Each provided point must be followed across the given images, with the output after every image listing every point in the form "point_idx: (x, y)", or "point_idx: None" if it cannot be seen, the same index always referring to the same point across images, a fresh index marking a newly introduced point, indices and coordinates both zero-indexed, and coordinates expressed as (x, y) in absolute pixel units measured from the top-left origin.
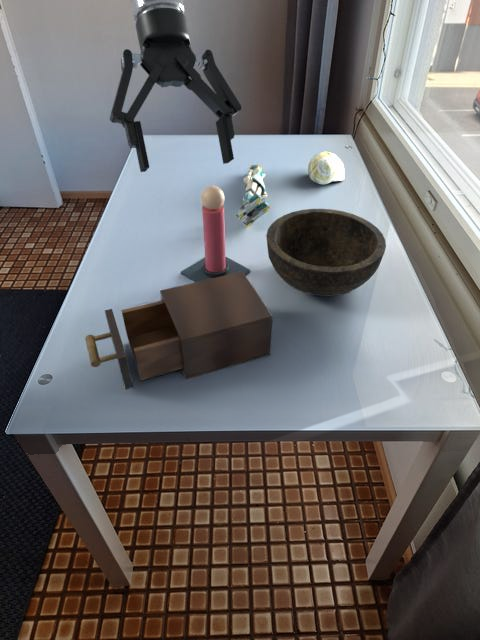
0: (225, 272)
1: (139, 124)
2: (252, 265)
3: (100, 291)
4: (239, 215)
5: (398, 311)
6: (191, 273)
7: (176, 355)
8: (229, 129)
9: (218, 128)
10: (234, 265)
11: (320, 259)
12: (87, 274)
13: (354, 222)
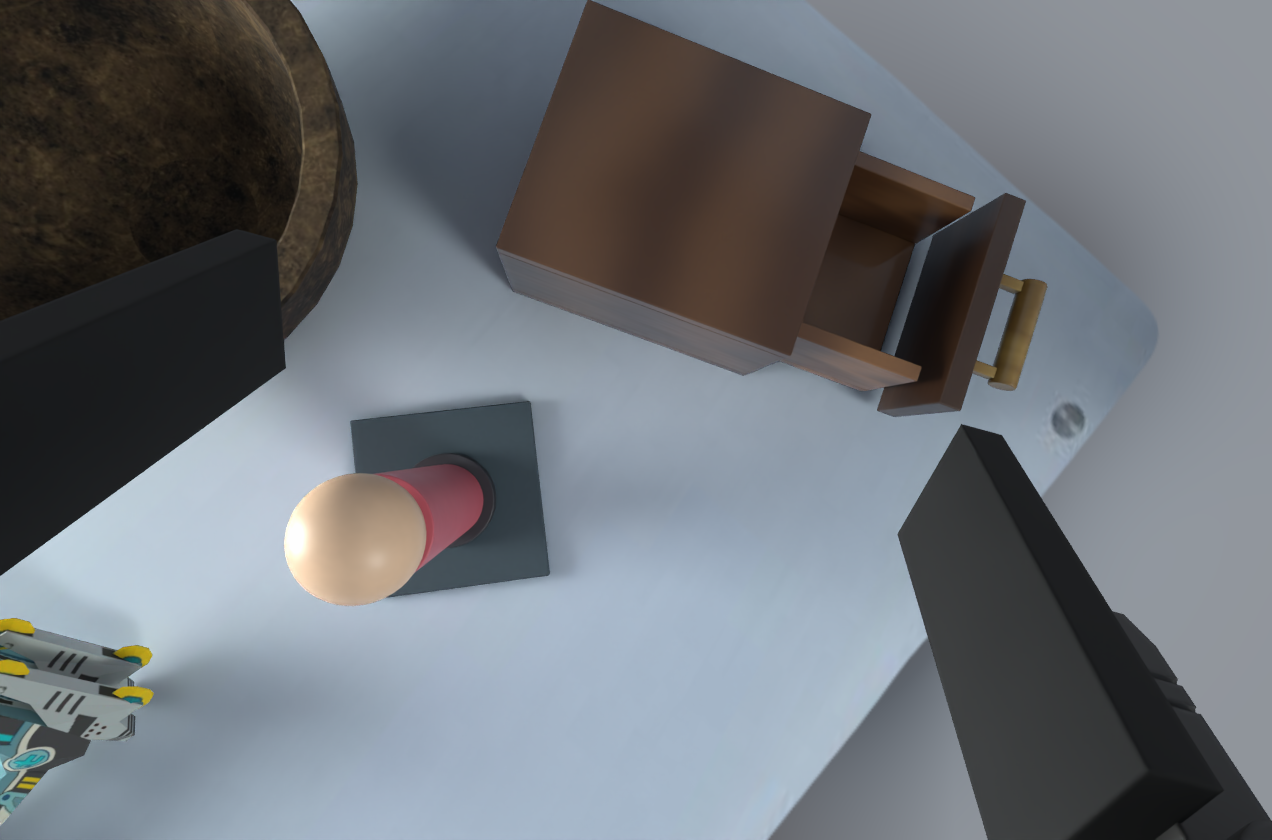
0: (439, 454)
1: (1140, 734)
2: (318, 448)
3: (802, 661)
4: (130, 705)
5: None
6: (527, 540)
7: None
8: None
9: (36, 504)
10: None
11: (107, 274)
12: (792, 776)
13: None
